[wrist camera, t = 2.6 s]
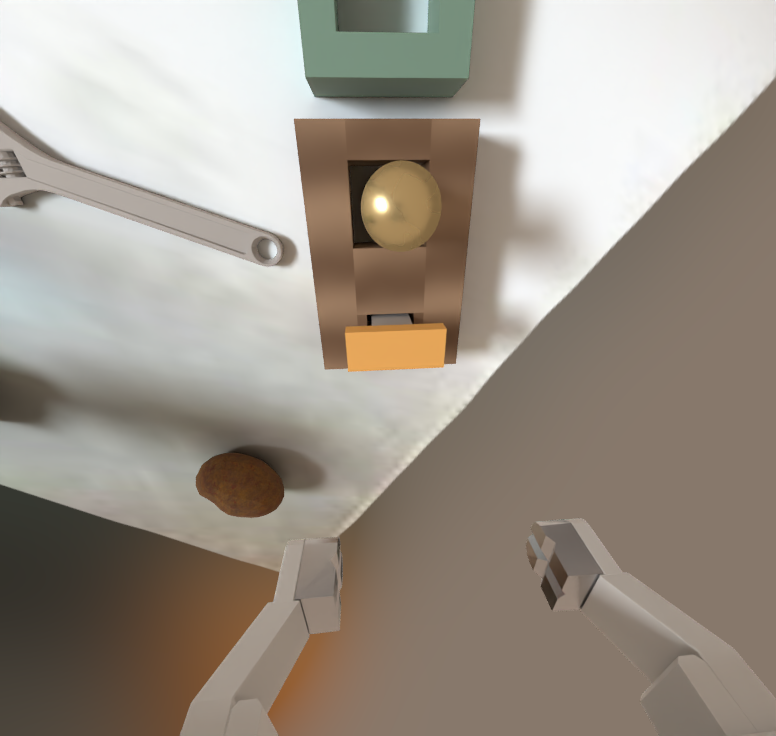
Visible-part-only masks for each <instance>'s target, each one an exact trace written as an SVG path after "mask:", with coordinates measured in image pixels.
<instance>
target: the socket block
mask: <svg viewBox="0 0 776 736" xmlns="http://www.w3.org/2000/svg"><path fill="white" fill-rule="evenodd" d="M294 124H295V132H296V140H297V148H298V156H299V164H300V172H301V181H302V189H303V197H304V205H305V213H306V221H307V229H308V237H309V245H310V253H311V261H312V269H313V277H314V285H315V294H316V302H317V310H318V318H319V326H320V334H321V342H322V350H323V358H324V366H325V369H345V368H348V363H347V351H346V339H345V329H346V327H350V326H372V321H367V315H371V314H399V313H408V314H409V317H410V319H411V322H412V324H430V323H443V324H444V326H445V327H446V329H447V332H446V345H445V357H444V364H456V355H457V345H458V336H459V326H460V316H461V306H462V296H463V286H464V276H465V266H466V256H467V246H468V236H469V226H470V216H471V206H472V196H473V186H474V176H475V166H476V157H477V147H478V137H479V127H480V119H294ZM400 160H404V161H411V162H414V163H417V164H419V165H421V166H422V167H424V168H425V169H426V170H427V171H428V172H429V173H430V174H431V175H432V176H433V178H434V179H435V181H436V183H437V185H438V188H439V190H440V194H441V201H442V209H441V216H440V220H439V223H438V225H437V227H436V230H435V231H434V233H433V234H432V236H431V237H430V238H429V239H428V240H427V241H426V242H425V243H424V244H422V245H421V246H419V247H417V248H415V249H413V250H410V251H404V252H396V251H391V250H388V249H386V248H384V247H382V246H380V245H379V244H377V243H376V242H357V243H354V230H353V214H352V197H351V180H350V166H384V165H385V164H388V163H390V162H394V161H400Z"/></svg>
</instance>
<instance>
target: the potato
mask: <svg viewBox="0 0 776 736" xmlns="http://www.w3.org/2000/svg"><path fill="white" fill-rule="evenodd" d="M196 487H197V490H198V492H199V494H200V495H201V496H203V497H205V498H207V499H208V500H210V501H211V502H213V503H214V504H215V505H216V506H217V507H218V508H219V509H220V510H222V511H223V512H225V513H227V514H228V515H232V516H236V517H250V518H252V517H260V516H264V515H267V514H269V513H271V512H272V511H274V510H276V509H277V507H278V506H279V505H280V504H281V502H282V499H283V497H284V487H283V483H282V480H281V478H280V477H279V475H278V474H277V473H276V472H275V471H274V470H273V469H272V468H271V467H270V466H269V465H267V464H266V463H265V462H264V461H262V460H260V459H257V458H255V457H252V456H249V455H245V454H241V453H224V454H220V455H217V456H214V457H212V458H211V459H209V460H208V461H207V462H205V463H204V464H203V465H202V466H201V468H200V470H199V472H198V474H197V476H196Z"/></svg>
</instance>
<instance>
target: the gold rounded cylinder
mask: <svg viewBox="0 0 776 736" xmlns="http://www.w3.org/2000/svg"><path fill="white" fill-rule="evenodd" d="M441 209H442V201H441V194H440V190H439V188H438V185H437V183H436V181H435V179H434V178H433V176H432V175H431V174H430V173H429V172H428V171H427V170H426V169H425V168H424V167H422V166H420V165H419V164H417V163H414V162H411V161H404V160H400V161H394V162H390V163H388V164H385V165H384V166H382V167H380V168H379V169H378V170H377V171H376V172H375V173H374V174H373V175H372V176H371V177H370V179H369V180H368V182H367V184H366V186H365V188H364V191H363V194H362V199H361V215H362V220H363V223H364V226H365V228H366V230H367V232H368V234H369V235H370V236H371V238H372V239H373V240H374V241H375V242H376V243H377V244H379V245H380V246H382V247H384V248H386V249H388V250H391V251H396V252H404V251H410V250H413V249H415V248H417V247H419V246H421V245H422V244H424V243H425V242H426V241H427V240H428V239H429V238H430V237H431V236H432V234H433V233H434V231H435V230H436V227H437V225H438V223H439V220H440V216H441Z"/></svg>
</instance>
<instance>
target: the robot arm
mask: <svg viewBox="0 0 776 736" xmlns="http://www.w3.org/2000/svg"><path fill="white" fill-rule="evenodd" d="M531 531H532V533H533V534H532V535H531V536H530V537H528V539H527V543H526V550H527V556H528V559H529V562H530V564H531V567H532V569H533V571H534V572H536V573H537V574H538V575H539V576H540V577H541V578H542V580H541V589H542V591H543V593H544V595H545V597H546V599H547V601H548V604H549V606H550V608H551V610H552V611H565V610H581V612H582V614H583V615H585V616H586V618H587V619H588V620H589V621H591V622H592V624H593V625H594V626H595V627H596V628H598V630H600V631H601V633H602V634H603V635H605V637H606V638H607V639H608V640H609V641H610V642H611V643H612V644H613V645H614V646H615V647H616V648H617V649H619V651H621V653H622V654H623V655H624V656H625V657H626V658H627V659H628V660H629V661H630V662H631V663H632V664H633V665H634V666H635V667H636V668H637V669H638V670H639V671H640V672H641V673H642V674H643V675H644V676H645V677H646V678H647V679H648V680H649V681H650V682H651V683H652V684H651V685H650V687H649V688H648V689H647V690H646V691H645V692H644V693H643V694H642V695H641V700H640V702H641V704H642V706H643V708H644V710H645V711H646V713H647V715H648V717H649V718H650V720H651V722H652V724H653V726H654V727H655V730H656V732H657V733H658V735H659V736H776V699H775V697H774V696H773V695H772V694H771V693H770V691H769V690H768V689H767V688H766V687H765V685H764V684H763V683H762V682H761V680H760V679H759V678H758V677H757V676H756V675H755V673H754V672H753V671H752V670H751V668H750V667H749V666H748V665H747V664H746V662H745V661H744V660H743V659H742V658H741V656H740V655H739V654H738V653H737V651H736V650H735V649H734V648H732V647H731V646H730V645H728V644H727V643H725V642H724V641H723V640H721V639H720V638H718V637H717V636H715V635H714V634H713V633H711V632H710V631H709V630H707V629H706V628H704V627H703V626H702V625H700V624H699V623H698V622H696V621H695V620H693V619H692V618H691V617H689V616H688V615H686V614H685V613H684V612H682V611H681V610H679V609H678V608H677V607H675V606H674V605H672V604H671V603H670V602H668V601H667V600H665V599H664V598H663V597H661V596H660V595H658V594H657V593H656V592H654V591H653V590H651V589H650V588H649V587H647V586H646V585H645V584H643V583H641V582H640V581H639V580H637V579H636V578H635V577H633V576H632V575H630V574H629V573H623V572H622V571H621V569H620V568H619V567H618V565H617V564H616V563H615V561H614V559H613V558H612V557H611V555H610V554H609V553H608V551H607V550H606V548H605V547H604V545H603V544H602V543H601V541H600V540H599V538H598V537H597V536H596V534H595V533H594V531H593V530H592V528H591V527H590V526H589V524H588V523H587V522H586V521H585V520H583V519H580V518H578V519H566V520H565V519H561V520H551V521H540V522H535V523H533V524H532V527H531ZM342 573H343V563H342V552H341V551H340V538H339V537H328V538H314V539H296V540H289V541H288V543H287V545H286V548H285V552H284V557H283V561H282V566H281V570H280V574H279V579H278V584H277V588H276V592H275V597H274V601H273V602H271V603H267V605H266V606H265V607H264V609H263V610H262V611H261V613H260V614H259V615H258V616H257V618H256V619H255V620H254V622H253V623H252V624H251V626H250V627H249V628H248V629H247V631H246V632H245V633H244V635H243V636H242V637H241V639H240V640H239V641H238V642H237V644H236V645H235V647H234V648H233V649H232V650H231V652H230V653H229V654H228V656H227V657H226V658H225V659H224V661H223V662H222V663H221V665H220V666H219V667H218V668H217V670H216V671H215V672H214V674H213V675H212V676H211V678H210V679H209V680H208V682H207V683H206V684H205V685H204V687H203V688H202V689H201V691H200V692H199V693H198V695H197V696H196V697H195V699H194V700H193V701H192V702H191V705H190V708H189V710H188V713H187V717H186V719H185V722H184V725H183V728H182V731H181V734H180V736H279V735H278V734H277V732H276V730H275V728H274V726H273V725H272V723H271V721H270V719H269V717H268V715H267V713H268V711H269V709H270V707H271V706H272V704H273V702H274V700H275V698H276V697H277V695H278V693H279V691H280V689H281V688H282V686H283V684H284V682H285V680H286V678H287V676H288V675H289V673H290V671H291V669H292V667H293V666H294V664H295V662H296V660H297V658H298V657H299V655H300V653H301V651H302V649H303V647H304V646H305V644H306V642H307V640H308V638H309V634H315V633H323V632H331V631H338V630H340V614H341V599H340V593H339V590H340V589H341V587H342V577H343V574H342Z"/></svg>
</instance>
